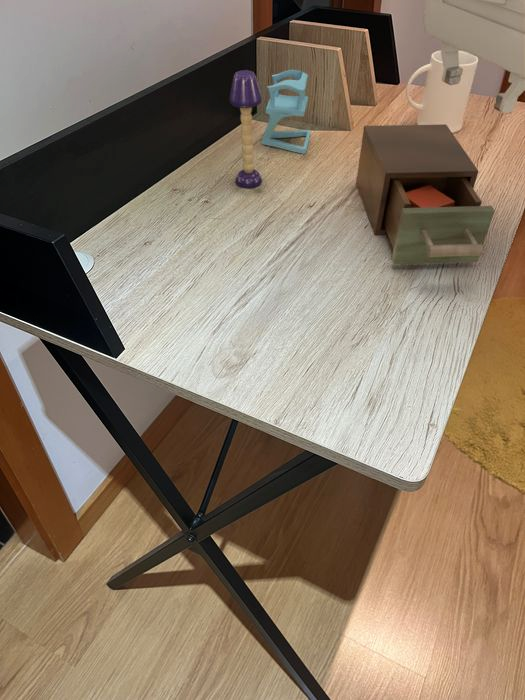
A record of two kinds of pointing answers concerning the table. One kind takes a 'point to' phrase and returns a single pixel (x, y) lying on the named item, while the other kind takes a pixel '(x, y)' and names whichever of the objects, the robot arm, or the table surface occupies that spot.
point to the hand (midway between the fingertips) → (475, 96)
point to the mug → (444, 92)
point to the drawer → (436, 223)
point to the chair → (286, 110)
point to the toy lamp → (246, 123)
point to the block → (428, 198)
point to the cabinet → (406, 162)
